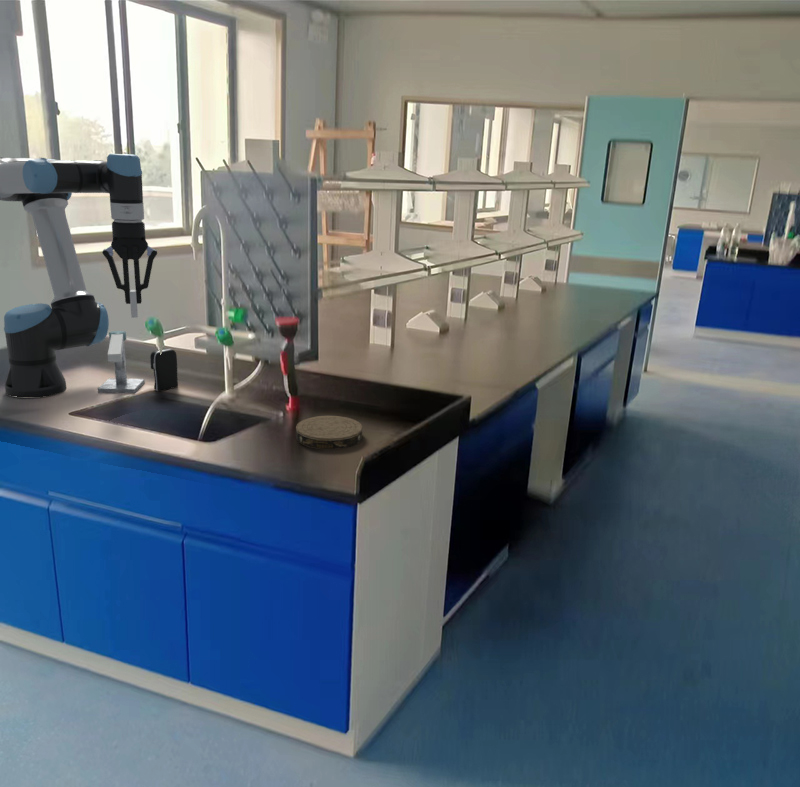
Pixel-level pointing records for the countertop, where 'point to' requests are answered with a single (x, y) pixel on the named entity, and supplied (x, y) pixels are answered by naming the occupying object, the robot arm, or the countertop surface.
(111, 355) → the swing arm
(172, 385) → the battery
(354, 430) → the grey round disc
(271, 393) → the countertop surface
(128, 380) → the post
